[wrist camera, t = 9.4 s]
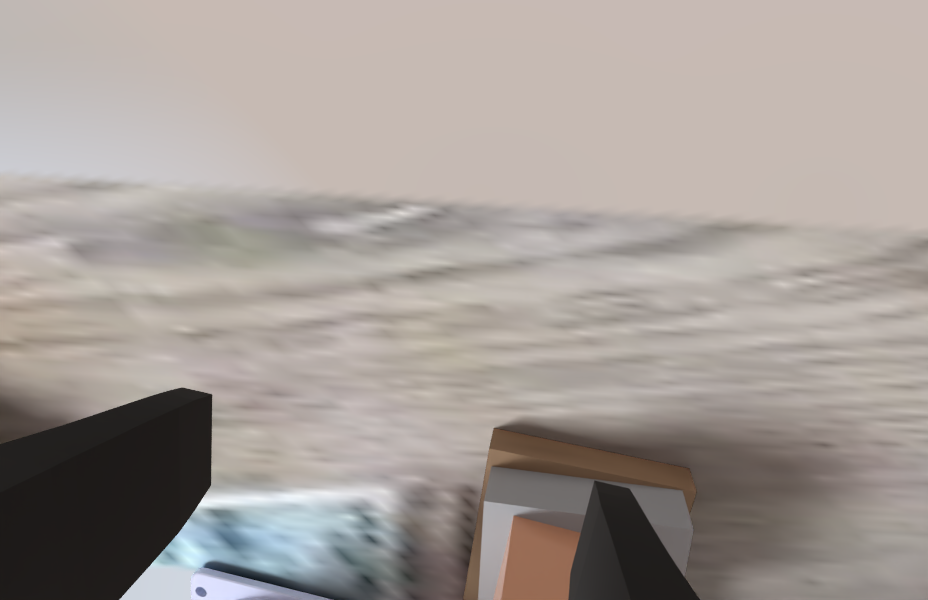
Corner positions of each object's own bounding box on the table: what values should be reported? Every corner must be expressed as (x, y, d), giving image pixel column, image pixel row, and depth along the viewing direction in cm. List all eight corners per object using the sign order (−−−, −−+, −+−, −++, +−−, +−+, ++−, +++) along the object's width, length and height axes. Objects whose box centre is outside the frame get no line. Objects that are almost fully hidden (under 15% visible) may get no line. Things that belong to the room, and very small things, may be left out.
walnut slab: (641, 607, 25) (647, 649, 23) (470, 567, 25) (461, 605, 23) (686, 458, 22) (696, 491, 20) (495, 419, 23) (489, 448, 21)
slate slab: (655, 639, 22) (663, 688, 21) (482, 611, 23) (474, 656, 22) (682, 490, 20) (693, 529, 19) (491, 466, 21) (483, 500, 20)
